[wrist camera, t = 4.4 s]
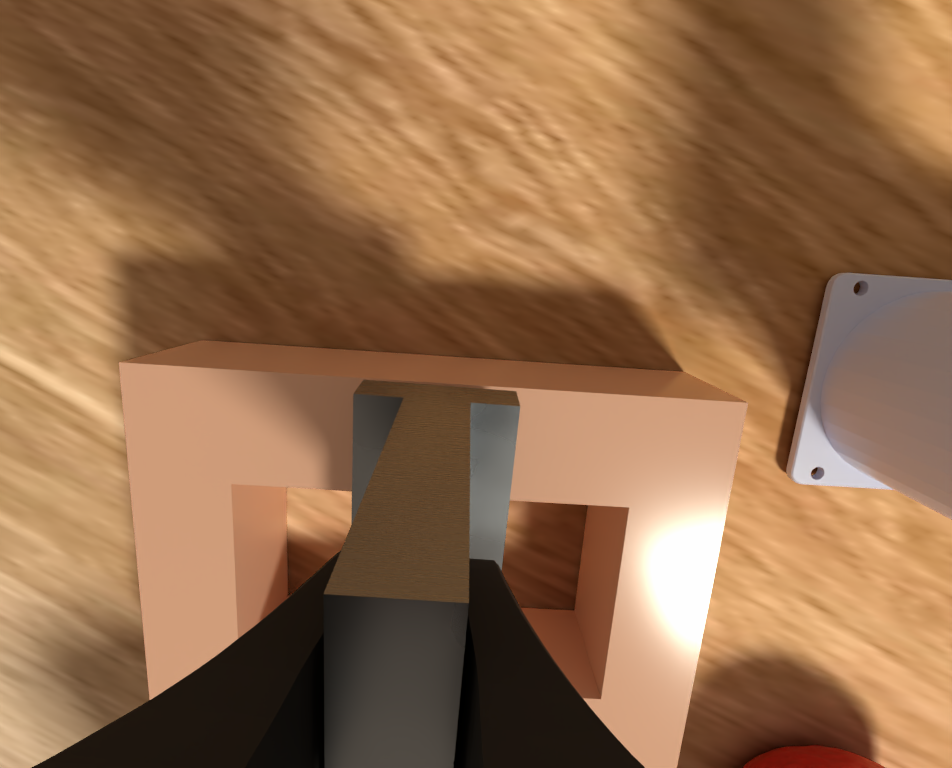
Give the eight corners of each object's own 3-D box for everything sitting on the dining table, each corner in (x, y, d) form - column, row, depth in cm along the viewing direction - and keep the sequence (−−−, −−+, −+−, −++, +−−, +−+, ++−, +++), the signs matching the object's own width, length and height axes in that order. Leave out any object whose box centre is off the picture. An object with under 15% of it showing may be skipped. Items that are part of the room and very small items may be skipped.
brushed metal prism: (516, 391, 13) (575, 610, 6) (497, 554, 15) (526, 904, 7) (363, 379, 13) (213, 587, 5) (360, 544, 15) (237, 892, 7)
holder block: (684, 371, 19) (748, 402, 15) (633, 683, 22) (673, 786, 18) (201, 340, 19) (118, 362, 14) (218, 662, 22) (155, 762, 17)
